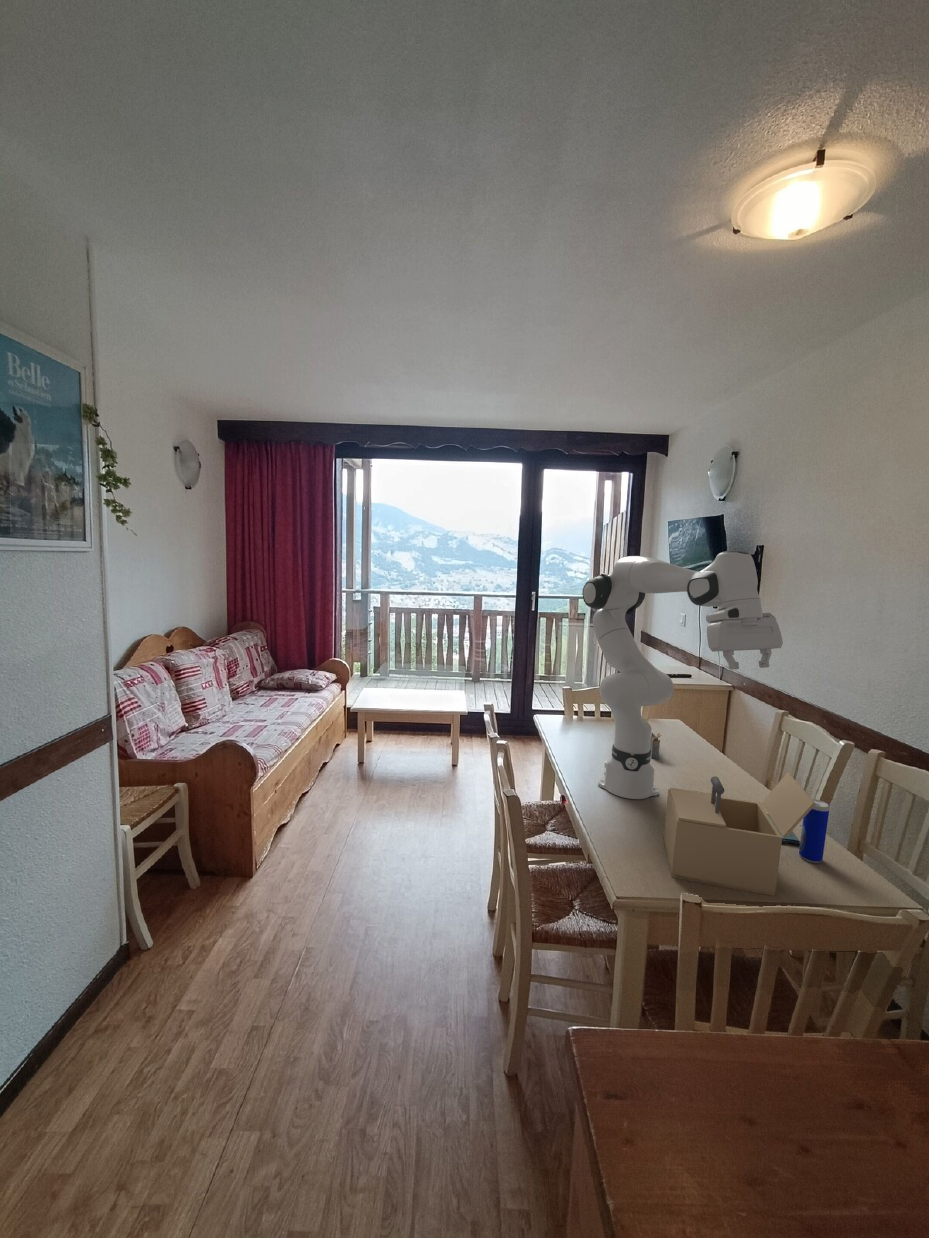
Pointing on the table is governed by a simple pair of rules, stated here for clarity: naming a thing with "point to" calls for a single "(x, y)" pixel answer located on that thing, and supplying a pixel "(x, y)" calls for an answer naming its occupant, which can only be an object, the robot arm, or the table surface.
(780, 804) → the flap
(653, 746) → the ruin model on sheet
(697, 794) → the flap
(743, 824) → the carton
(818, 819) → the beverage can
